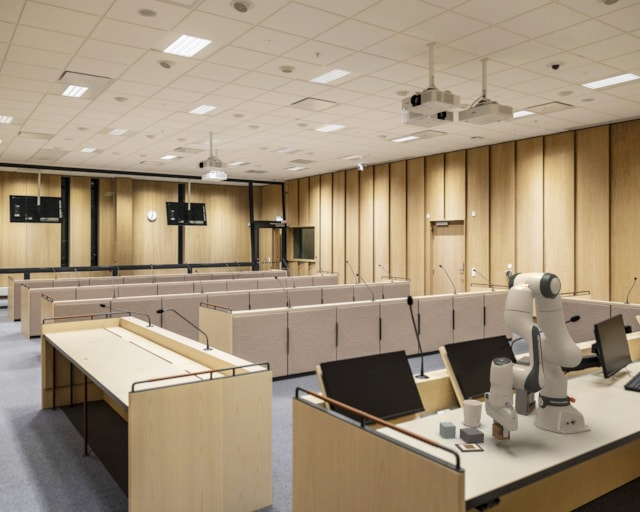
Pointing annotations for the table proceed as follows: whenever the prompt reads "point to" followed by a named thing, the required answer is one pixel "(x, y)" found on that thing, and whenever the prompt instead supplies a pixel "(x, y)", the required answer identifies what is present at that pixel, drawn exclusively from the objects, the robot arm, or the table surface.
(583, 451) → the table surface
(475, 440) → the charcoal base block
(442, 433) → the slate-blue block
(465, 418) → the white cup
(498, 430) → the walnut block
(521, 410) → the grey box
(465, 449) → the card
